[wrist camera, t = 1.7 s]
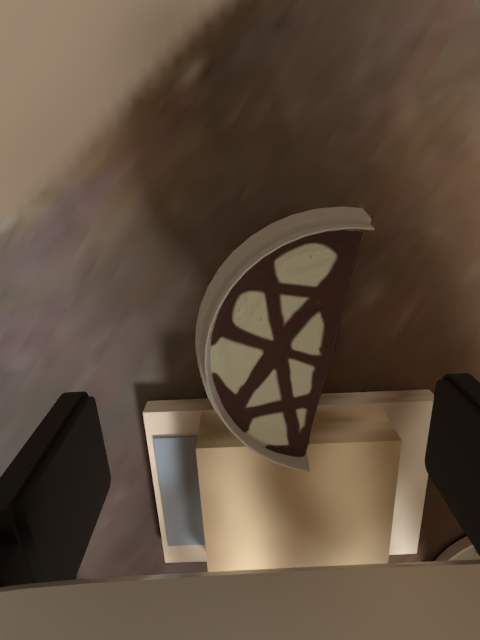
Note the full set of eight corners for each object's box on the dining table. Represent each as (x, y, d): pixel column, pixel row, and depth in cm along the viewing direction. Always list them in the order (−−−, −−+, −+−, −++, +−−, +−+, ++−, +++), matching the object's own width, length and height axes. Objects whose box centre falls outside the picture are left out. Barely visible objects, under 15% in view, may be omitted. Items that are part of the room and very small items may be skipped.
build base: (429, 389, 28) (471, 437, 23) (409, 537, 33) (440, 604, 28) (147, 400, 29) (127, 451, 24) (168, 546, 34) (155, 614, 28)
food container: (221, 179, 24) (210, 185, 14) (324, 196, 24) (379, 212, 15) (197, 366, 28) (176, 465, 18) (284, 378, 28) (307, 481, 19)
